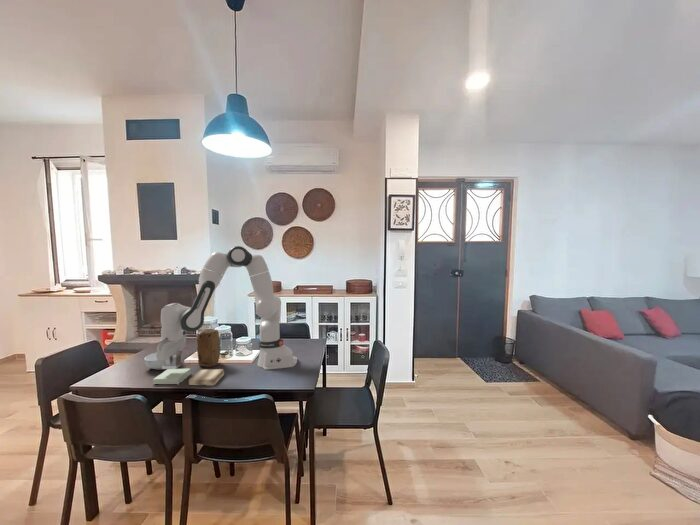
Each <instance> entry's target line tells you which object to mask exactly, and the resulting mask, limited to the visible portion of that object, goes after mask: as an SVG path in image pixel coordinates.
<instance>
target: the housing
mask: <svg viewBox="0 0 700 525" xmlns="http://www.w3.org/2000/svg"><path fill="white" fill-rule="evenodd" d="M182 354H183V350H179V351H177V352H176V353H174V354H173V355H171V356H170V360H171V364H170V365H166V361H165V360H163V366H162V369H161V370H167V369H179V367H181V366H183V361H181V360H182V358H181V357H182V356H181V355H182Z"/></svg>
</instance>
